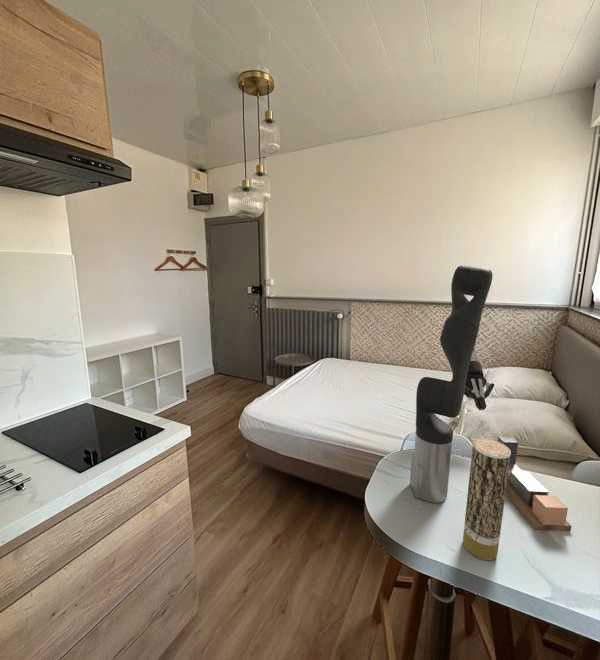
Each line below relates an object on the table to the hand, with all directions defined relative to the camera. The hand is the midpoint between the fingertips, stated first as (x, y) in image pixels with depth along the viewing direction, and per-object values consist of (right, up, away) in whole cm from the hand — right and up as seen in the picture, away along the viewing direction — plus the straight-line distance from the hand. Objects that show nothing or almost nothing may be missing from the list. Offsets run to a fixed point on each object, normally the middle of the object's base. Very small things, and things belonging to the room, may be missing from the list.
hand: (482, 409), depth 106 cm
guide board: (-1, -19, -22) cm, 29 cm away
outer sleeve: (-1, -18, -23) cm, 29 cm away
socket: (-2, -19, -31) cm, 36 cm away
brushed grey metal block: (-1, -16, -19) cm, 25 cm away
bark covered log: (-22, -22, -37) cm, 48 cm away
